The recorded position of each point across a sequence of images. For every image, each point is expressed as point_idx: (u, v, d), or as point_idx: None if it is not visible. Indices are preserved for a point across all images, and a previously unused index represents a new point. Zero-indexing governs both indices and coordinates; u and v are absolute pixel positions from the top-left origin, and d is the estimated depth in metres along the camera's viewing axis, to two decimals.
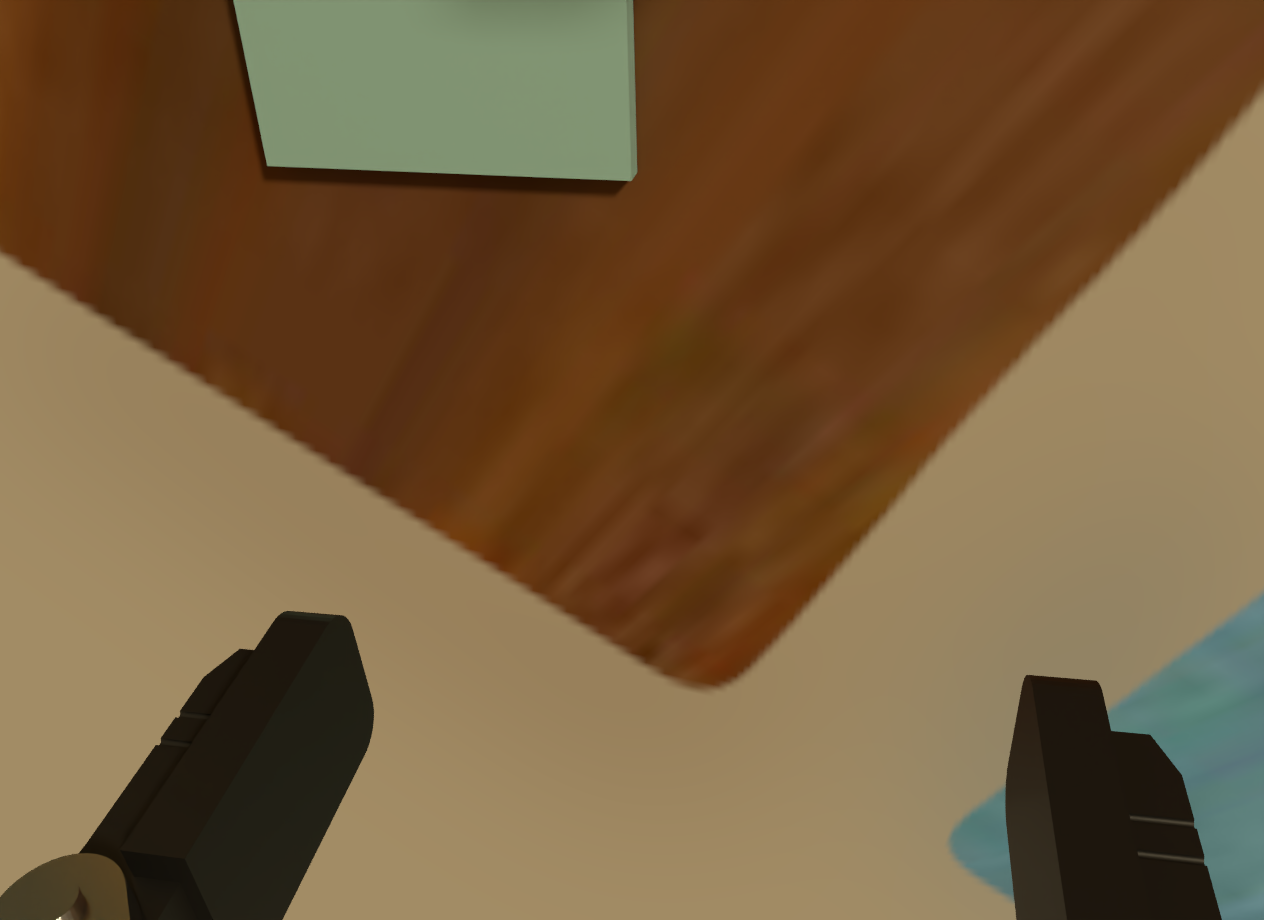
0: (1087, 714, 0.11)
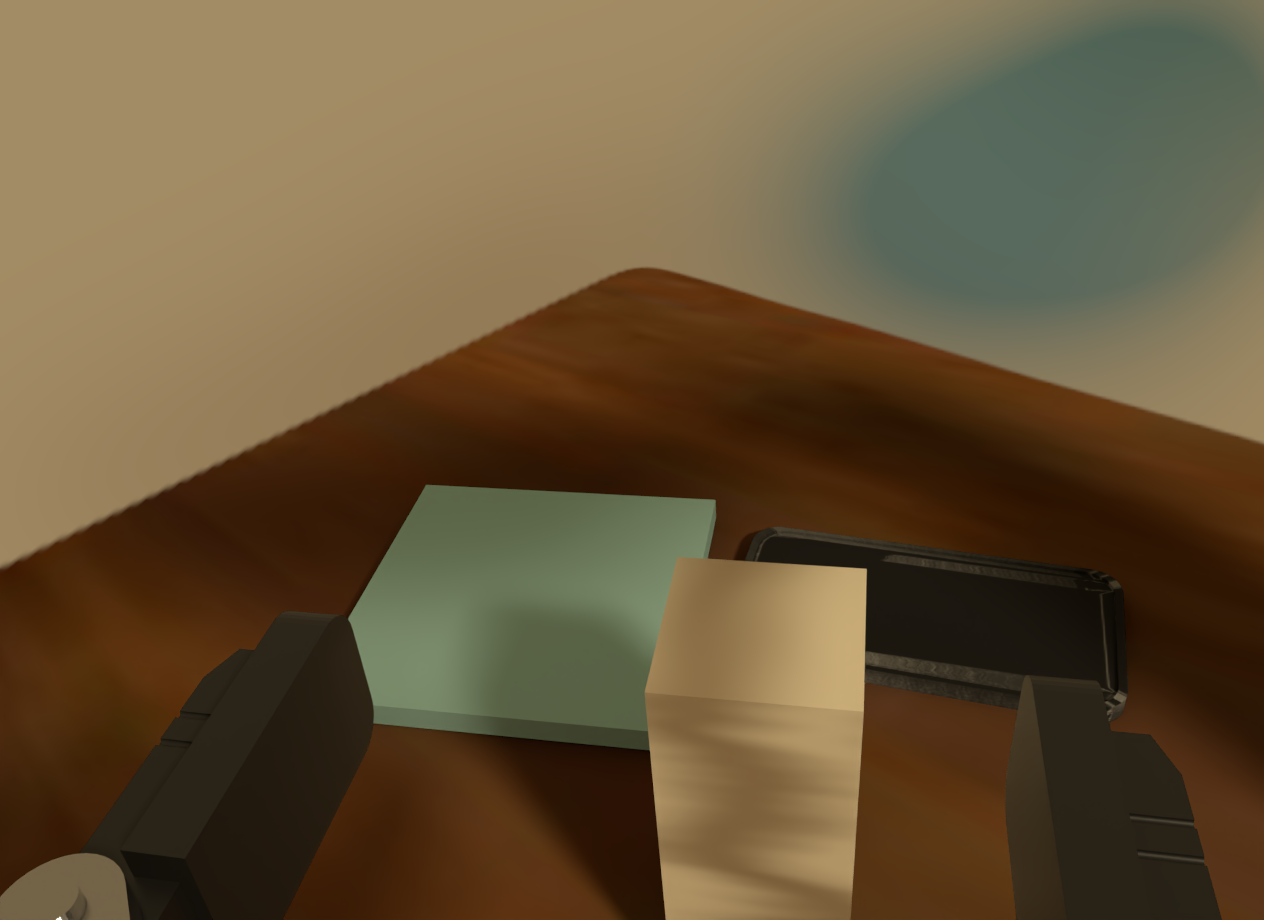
0: (1087, 714, 0.11)
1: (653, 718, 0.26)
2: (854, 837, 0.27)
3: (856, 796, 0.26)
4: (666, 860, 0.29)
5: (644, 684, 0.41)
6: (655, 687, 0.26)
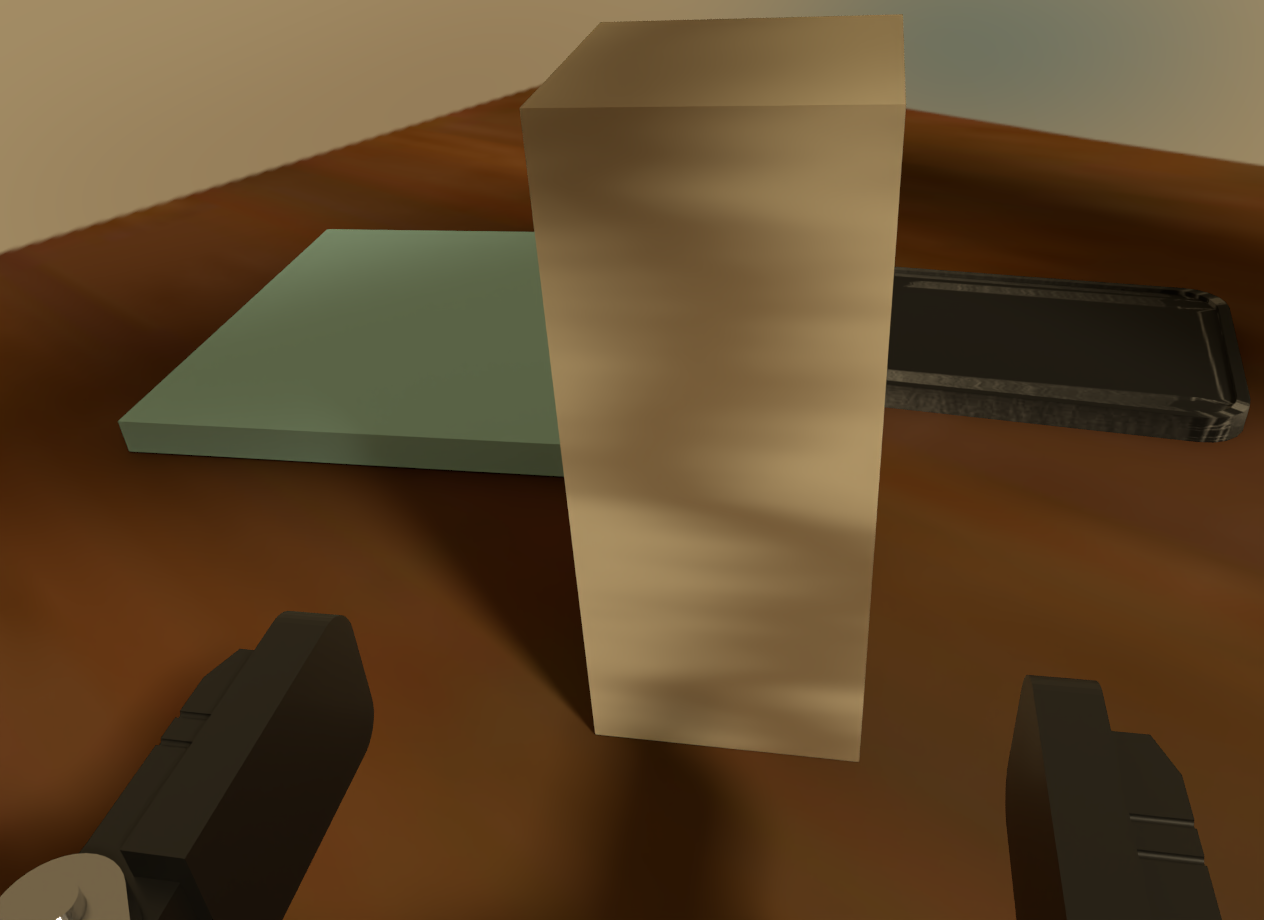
0: (1087, 714, 0.11)
1: (538, 170, 0.15)
2: (882, 410, 0.16)
3: (887, 314, 0.15)
4: (575, 491, 0.18)
5: None
6: (539, 104, 0.15)
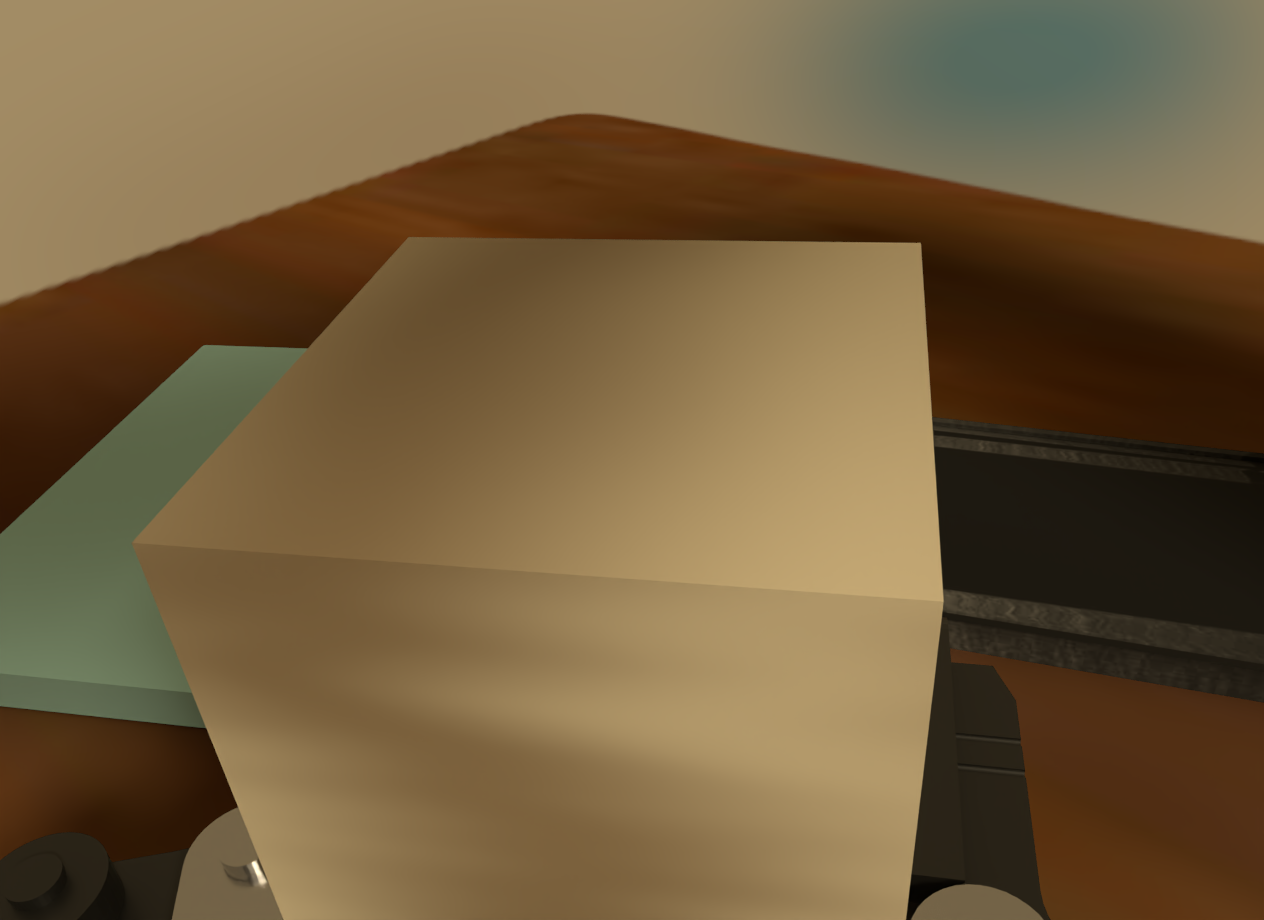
0: None
1: (191, 642, 0.07)
2: None
3: (900, 917, 0.08)
4: None
5: None
6: (180, 527, 0.07)
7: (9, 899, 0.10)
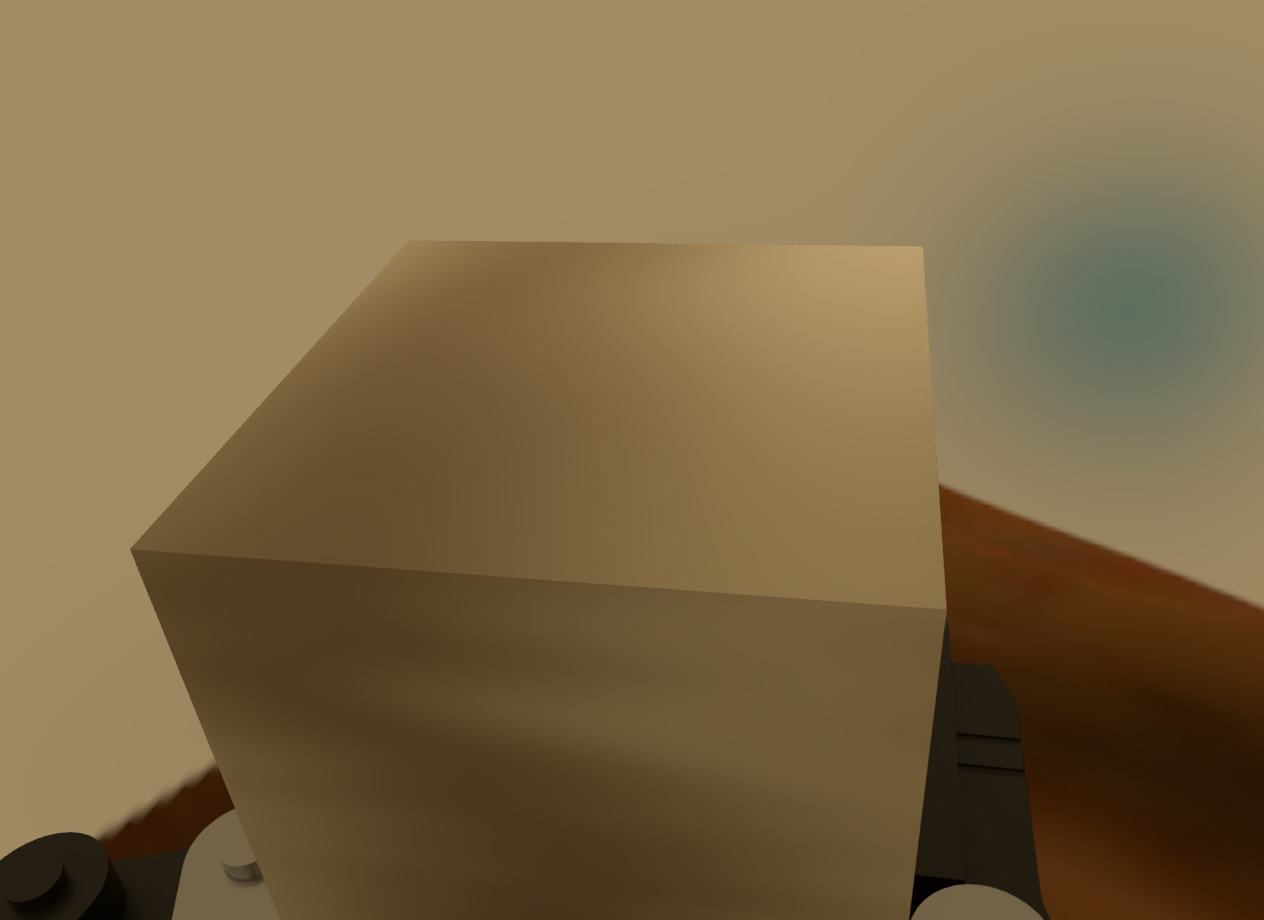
0: None
1: (190, 649, 0.07)
2: None
3: None
4: None
5: None
6: (179, 533, 0.07)
7: (9, 899, 0.10)
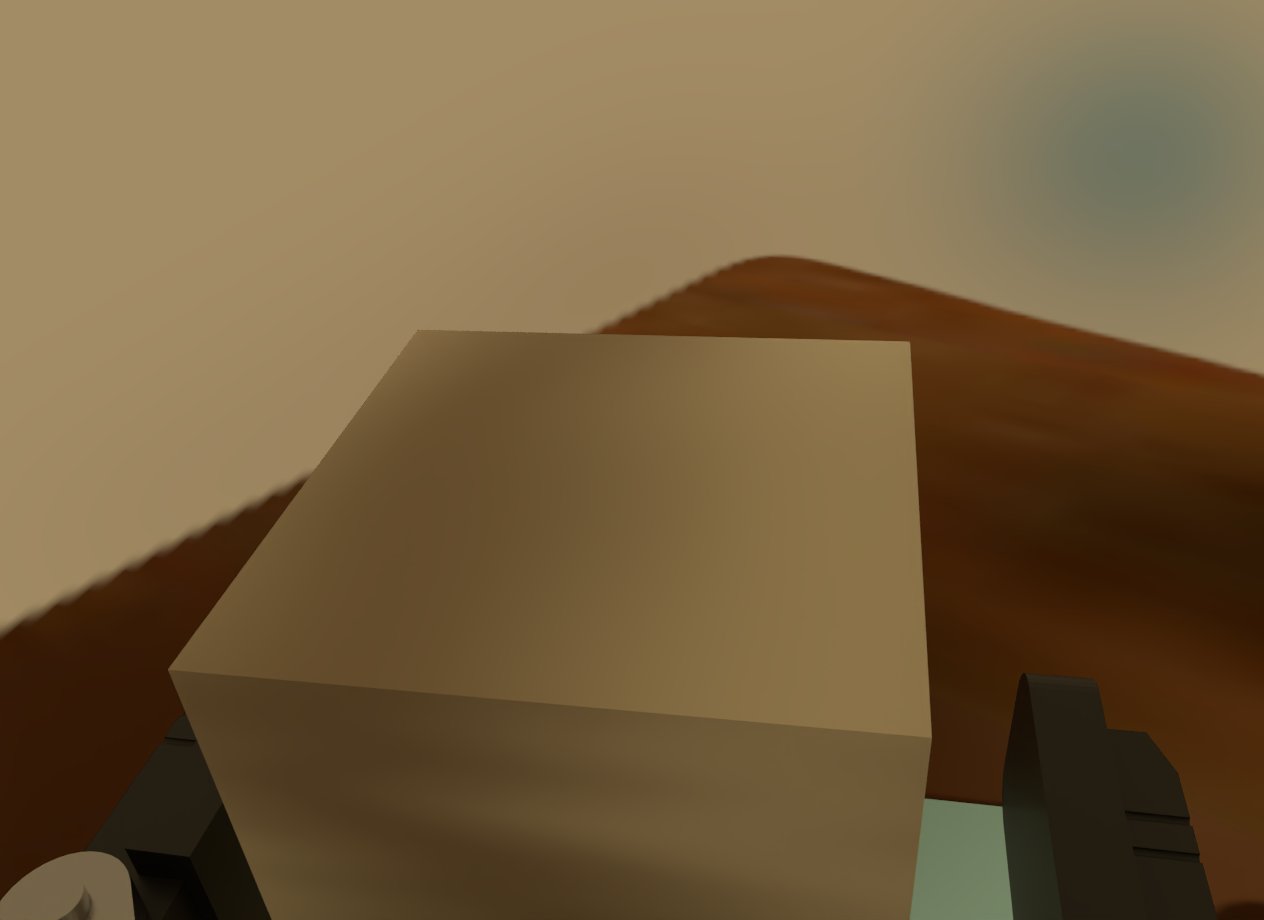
0: (1083, 712, 0.11)
1: (222, 757, 0.08)
2: None
3: None
4: None
5: None
6: (213, 653, 0.08)
7: None
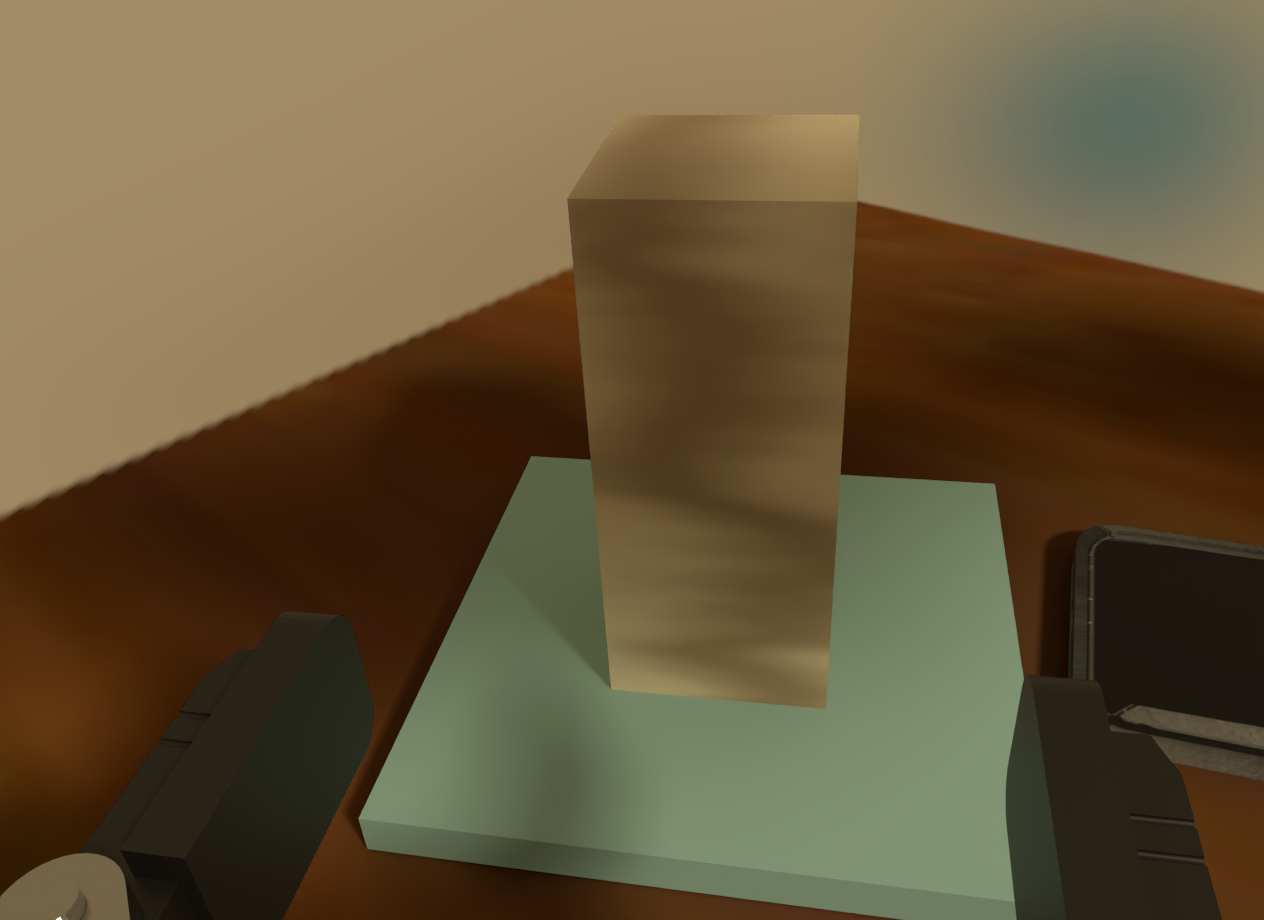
0: (1087, 714, 0.11)
1: (579, 243, 0.20)
2: (841, 427, 0.21)
3: (845, 354, 0.20)
4: (601, 489, 0.23)
5: (982, 803, 0.23)
6: (582, 195, 0.19)
7: None
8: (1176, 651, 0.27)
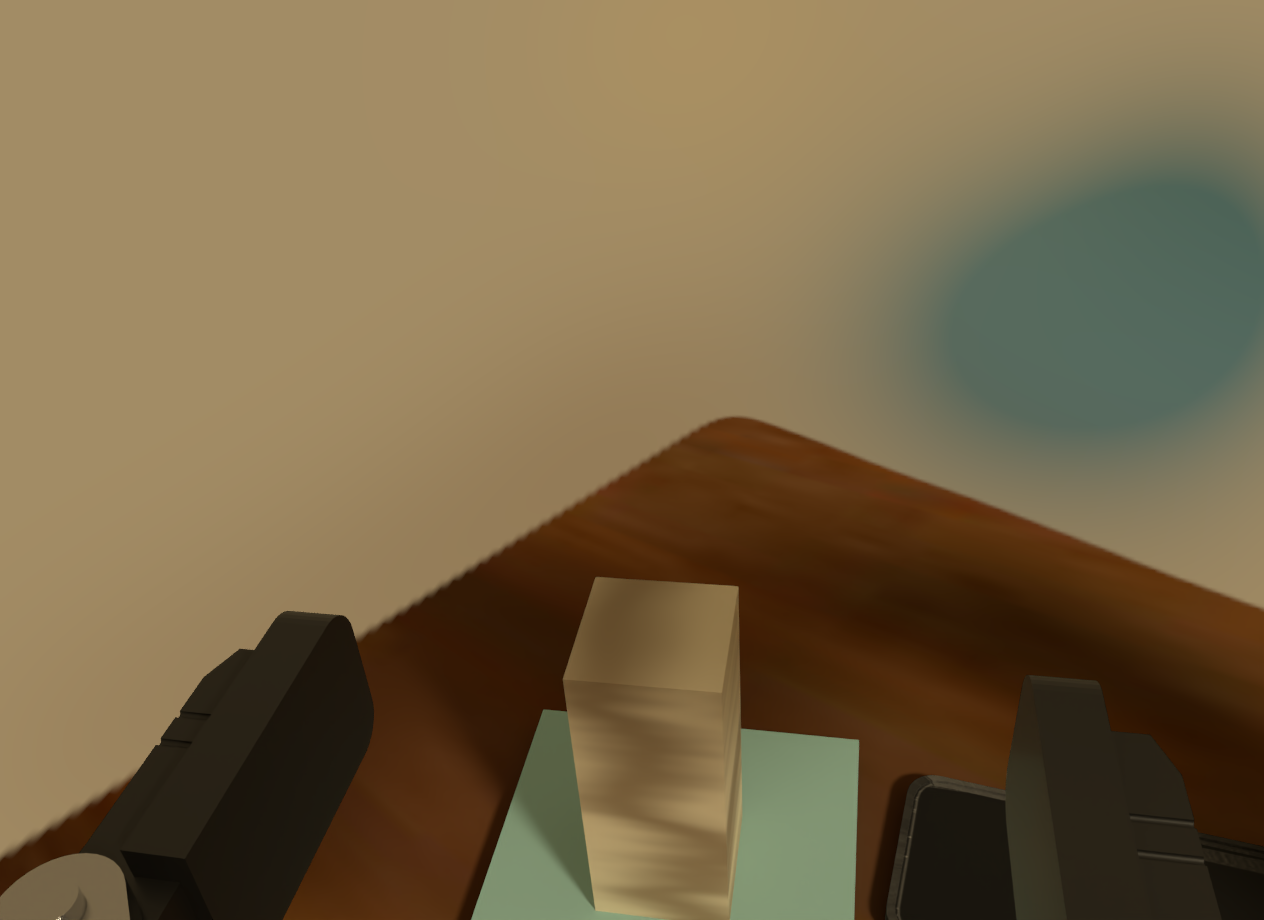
0: (1087, 714, 0.11)
1: (570, 699, 0.35)
2: (724, 789, 0.36)
3: (722, 757, 0.35)
4: (585, 810, 0.38)
5: None
6: (571, 675, 0.34)
7: None
8: (957, 880, 0.42)
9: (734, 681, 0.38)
